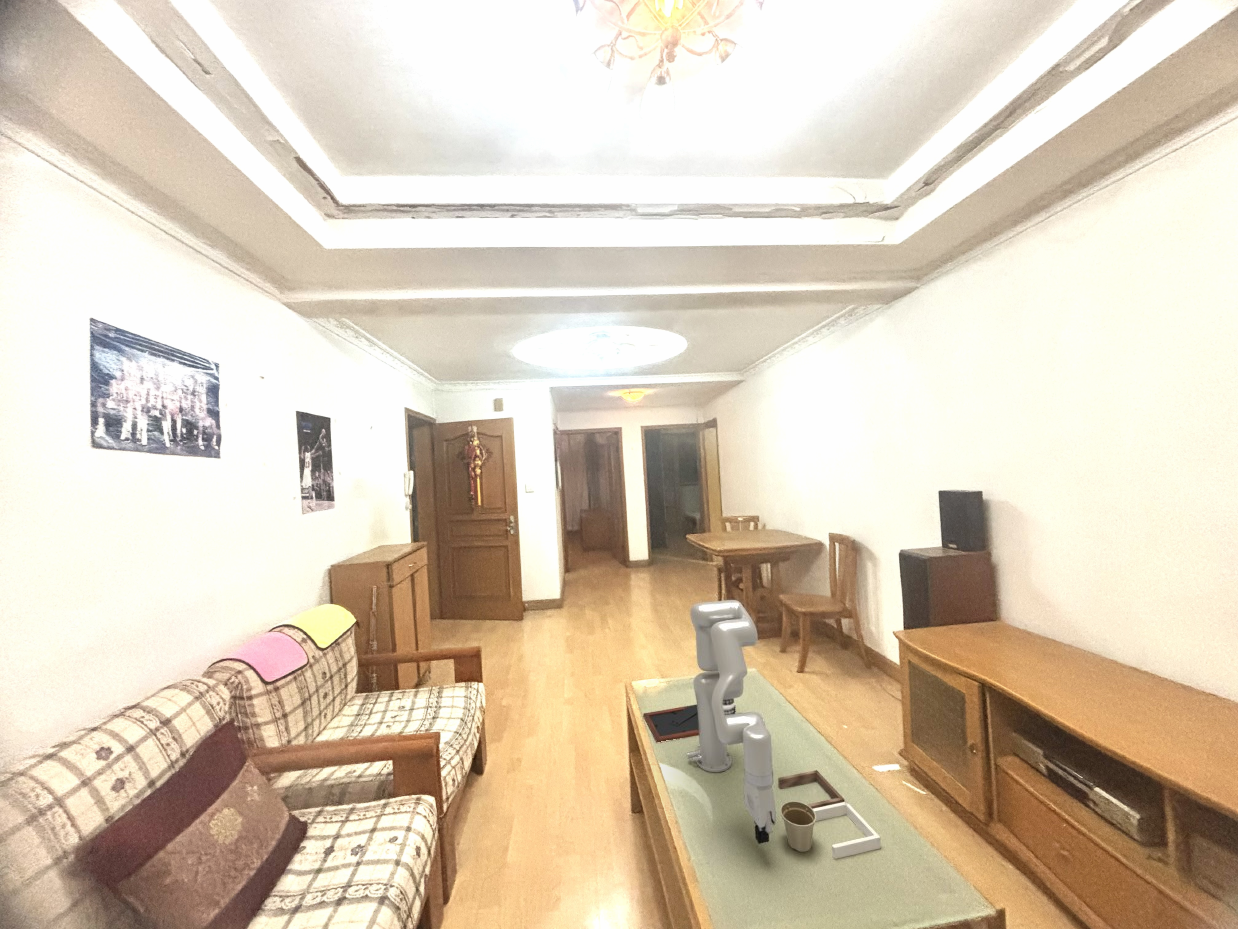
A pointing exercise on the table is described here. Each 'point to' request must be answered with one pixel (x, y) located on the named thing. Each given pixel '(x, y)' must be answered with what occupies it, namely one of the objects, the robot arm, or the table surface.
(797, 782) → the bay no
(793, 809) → the flower pot
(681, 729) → the picture frame
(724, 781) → the table surface
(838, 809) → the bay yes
